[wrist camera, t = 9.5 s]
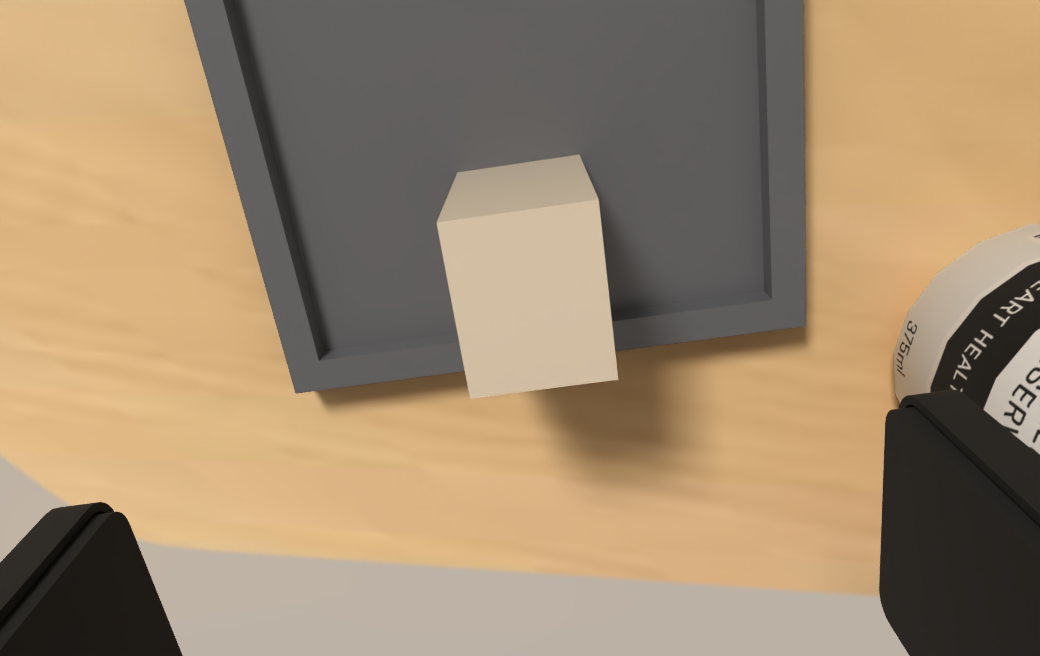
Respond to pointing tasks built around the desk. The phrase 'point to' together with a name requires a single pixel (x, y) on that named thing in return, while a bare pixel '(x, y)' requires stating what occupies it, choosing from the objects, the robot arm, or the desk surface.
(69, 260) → the desk surface
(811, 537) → the desk surface
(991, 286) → the supplement can
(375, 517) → the desk surface
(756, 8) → the tray
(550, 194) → the beige rectangular block
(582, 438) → the desk surface
